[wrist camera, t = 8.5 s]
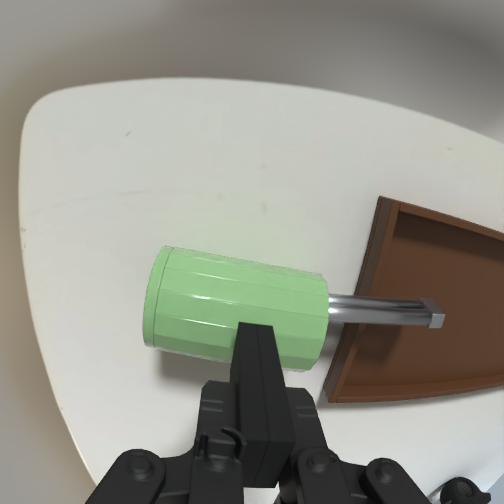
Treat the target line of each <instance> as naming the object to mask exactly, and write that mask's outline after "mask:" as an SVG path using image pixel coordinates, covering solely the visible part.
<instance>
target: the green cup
mask: <svg viewBox="0 0 504 504" xmlns="http://www.w3.org/2000/svg"><path fill="white" fill-rule="evenodd" d="M328 320H329V293H328V288H327V282H326V281H325V279H324V278H323V276H322V275H321V274H317V273H312V272H306V271H301V270H295V269H290V268H284V267H279V266H273V265H268V264H262V263H257V262H252V261H246V260H241V259H236V258H230V257H225V256H220V255H214V254H209V253H204V252H199V251H193V250H188V249H183V248H178V247H169V246H164V247H162V249H161V250H160V252H159V253H158V255H157V258H156V260H155V263H154V265H153V268H152V272H151V275H150V279H149V283H148V287H147V292H146V298H145V304H144V312H143V339H144V343H145V345H146V346H147V347H151V348H156V349H157V350H161V351H166V352H170V353H175V354H180V355H185V356H190V357H196V358H201V359H207V360H213V361H219V362H225V363H231V362H232V357H233V351H234V345H235V340H236V334H237V328H238V323H239V322H246V323H254V324H262V325H271V326H273V330H274V334H275V339H276V344H277V349H278V353H279V358H280V363H281V368H282V370H284V371H294V372H306V371H308V370H310V369H311V368H312V367H313V365H314V364H315V362H316V361H317V360H318V357H319V355H320V352H321V349H322V347H323V344H324V341H325V337H326V331H327V326H328Z"/></svg>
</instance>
